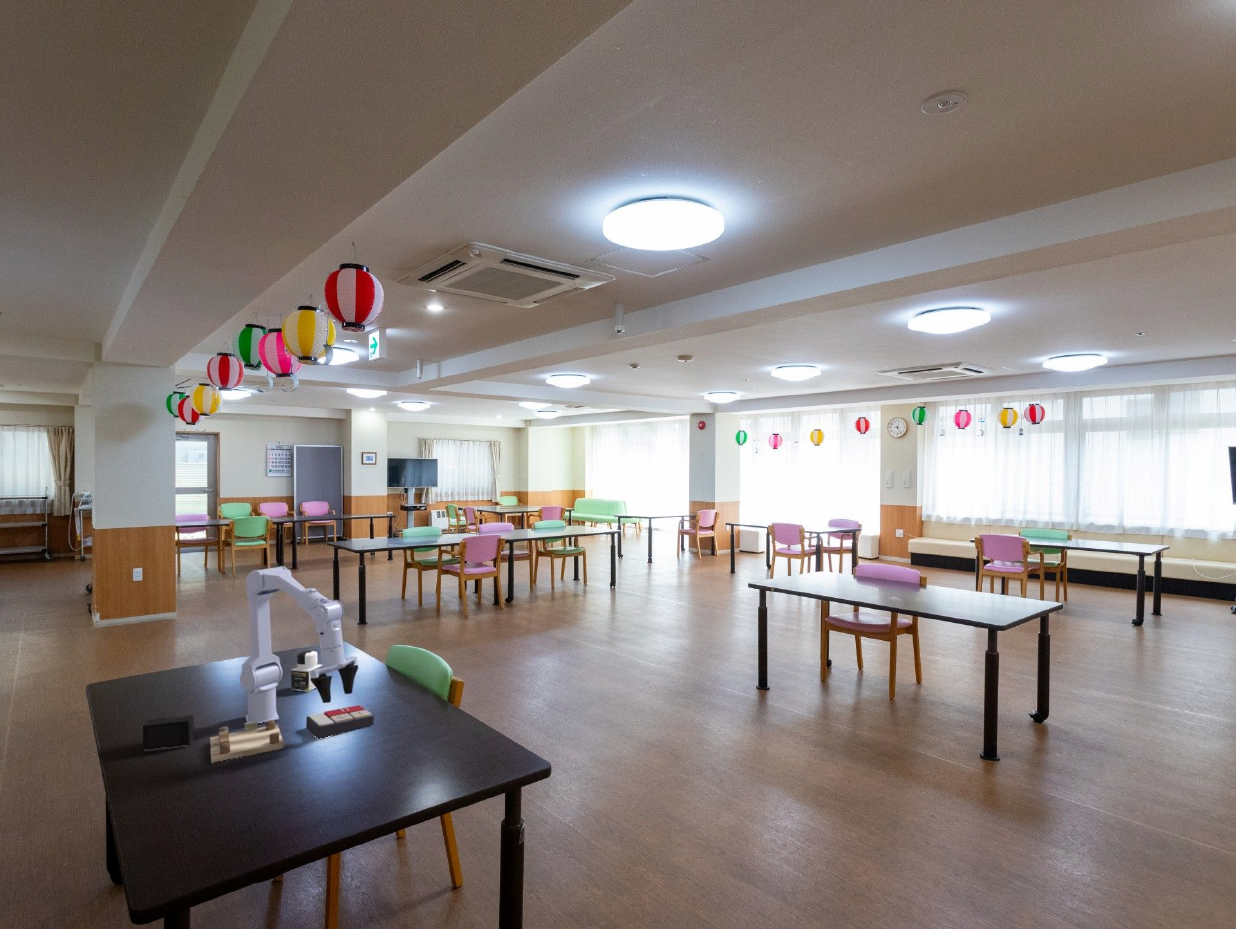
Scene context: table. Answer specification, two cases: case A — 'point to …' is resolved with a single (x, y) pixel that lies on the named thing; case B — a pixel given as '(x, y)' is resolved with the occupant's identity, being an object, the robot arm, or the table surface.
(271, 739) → the stool seat
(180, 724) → the digital camera
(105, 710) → the table surface
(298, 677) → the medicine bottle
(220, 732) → the folding leg
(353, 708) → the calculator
